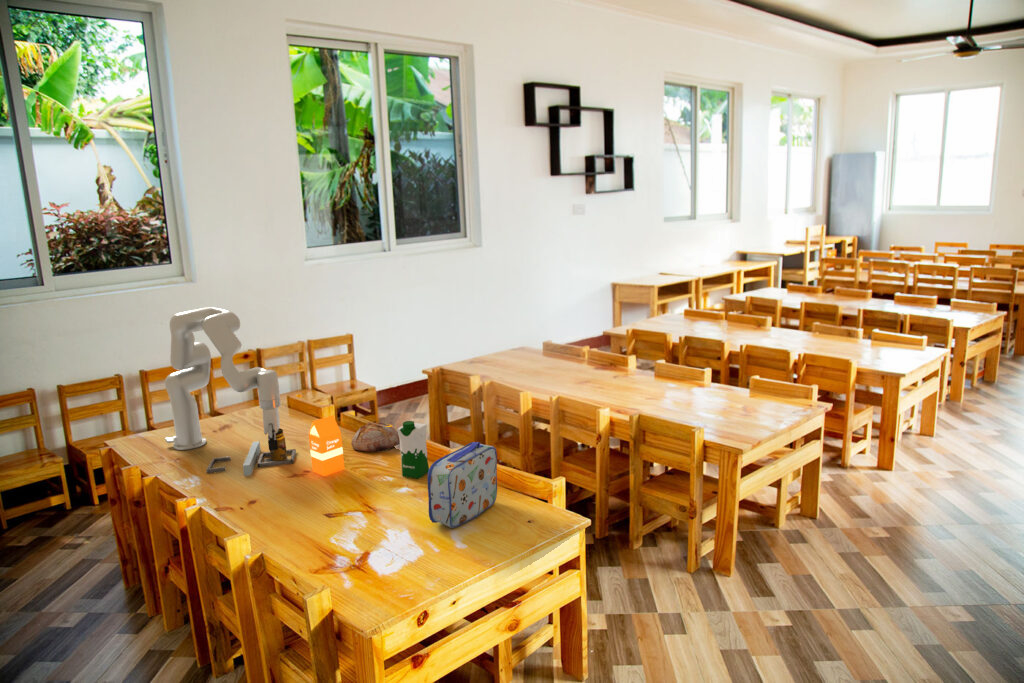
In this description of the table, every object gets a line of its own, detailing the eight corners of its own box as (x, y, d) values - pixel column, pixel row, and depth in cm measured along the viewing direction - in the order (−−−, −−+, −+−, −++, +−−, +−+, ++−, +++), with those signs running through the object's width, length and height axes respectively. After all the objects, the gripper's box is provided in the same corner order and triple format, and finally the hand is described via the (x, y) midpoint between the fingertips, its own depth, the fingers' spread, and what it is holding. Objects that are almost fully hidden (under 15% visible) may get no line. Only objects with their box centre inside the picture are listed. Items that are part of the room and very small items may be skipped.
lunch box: (477, 494, 236) (474, 431, 231) (504, 500, 230) (501, 435, 226) (425, 529, 213) (420, 460, 209) (453, 536, 208) (448, 465, 203)
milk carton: (398, 477, 253) (394, 423, 249) (412, 467, 261) (408, 415, 257) (419, 480, 249) (415, 426, 245) (433, 470, 257) (429, 418, 253)
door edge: (244, 476, 261) (242, 465, 260) (254, 451, 286) (253, 441, 285) (251, 475, 261) (249, 464, 260) (260, 450, 286) (259, 441, 285)
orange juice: (344, 468, 263) (339, 417, 259) (324, 476, 257) (318, 423, 253) (332, 464, 268) (327, 413, 264) (312, 471, 262) (306, 419, 258)
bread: (348, 446, 289) (345, 422, 288) (395, 437, 297) (393, 414, 295) (357, 457, 274) (354, 432, 273) (406, 447, 282) (404, 422, 281)
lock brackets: (206, 473, 265) (206, 469, 264) (213, 461, 276) (212, 458, 276) (293, 463, 271) (292, 459, 270) (296, 452, 282) (295, 448, 282)
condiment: (290, 460, 274) (287, 430, 272) (268, 465, 270) (264, 435, 267) (285, 454, 280) (281, 425, 278) (263, 460, 276) (259, 430, 273)
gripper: (262, 397, 278) (267, 439, 281) (256, 410, 261) (261, 454, 265) (282, 395, 279) (287, 436, 283) (277, 408, 263) (282, 452, 266)
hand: (275, 445), depth 274 cm, fingers open, 9 cm apart
